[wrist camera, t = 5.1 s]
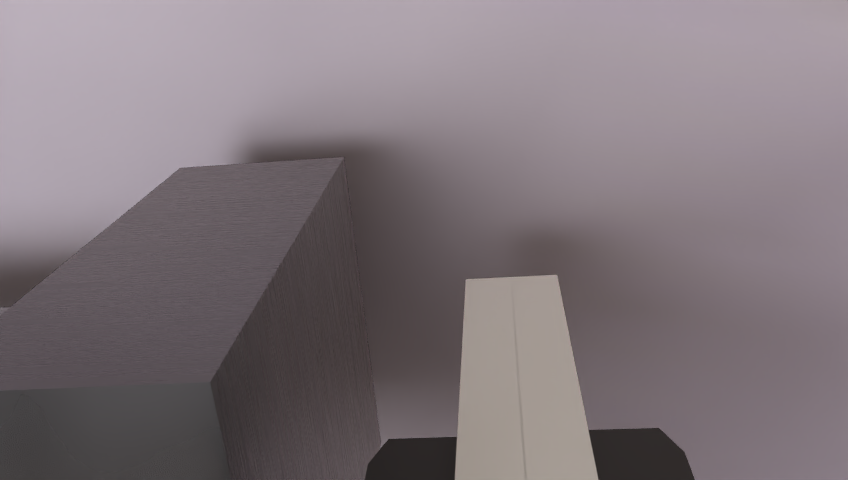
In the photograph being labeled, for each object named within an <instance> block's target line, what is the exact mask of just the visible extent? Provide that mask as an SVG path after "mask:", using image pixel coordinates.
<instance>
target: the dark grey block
mask: <svg viewBox="0 0 848 480" xmlns="http://www.w3.org/2000/svg"><path fill="white" fill-rule="evenodd" d="M380 444H381V438H380V431H379V423H378V415H377V407H376V400H375V392H374V384H373V376H372V369H371V361H370V353H369V345H368V338H367V330H366V322H365V314H364V307H363V299H362V291H361V284H360V276H359V268H358V260H357V253H356V245H355V237H354V229H353V222H352V214H351V206H350V198H349V191H348V183H347V175H346V168H345V160H344V157H334V158H319V159H305V160H290V161H275V162H261V163H246V164H231V165H217V166H202V167H187V168H180V169H178V170H177V171H176V172H175V173H173V174H172V175H171V176H170V177H169V178H167V179H166V180H165V181H164V182H162V183H161V184H160V185H159V186H158V187H156V188H155V189H154V190H153V191H151V192H150V193H149V194H148V195H147V196H145V197H144V198H143V199H142V200H140V201H139V202H138V203H137V204H136V205H134V206H133V207H132V208H131V209H129V210H128V211H127V212H126V213H125V214H123V215H122V216H121V217H120V218H118V219H117V220H116V221H115V222H114V223H112V224H111V225H110V226H109V227H107V228H106V229H105V230H104V231H103V232H101V233H100V234H99V235H98V236H96V237H95V238H94V239H93V240H92V241H90V242H89V243H88V244H87V245H85V246H84V247H83V248H82V249H81V250H79V251H78V252H77V253H76V254H74V255H73V256H72V257H71V258H70V259H68V260H67V261H66V262H65V263H63V264H62V265H61V266H60V267H59V268H57V269H56V270H55V271H54V272H52V273H51V274H50V275H49V276H48V277H46V278H45V279H44V280H43V281H41V282H40V283H39V284H38V285H37V286H35V287H34V288H33V289H32V290H30V291H29V292H28V293H27V294H26V295H24V296H23V297H22V298H21V299H19V300H18V301H17V302H16V303H15V304H13V305H12V306H11V307H1V308H0V480H365V476H366V471H367V466H368V463H369V462H370V461H371V460H372V458H373V457H374V456H375V455H376V454H377V452H378V451H379V449H380Z"/></svg>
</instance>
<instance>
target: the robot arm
mask: <svg viewBox="0 0 848 480" xmlns="http://www.w3.org/2000/svg"><path fill="white" fill-rule="evenodd" d="M365 480H695V479H694V476H693V474H692V471H691V468H690V466H689V463H688V460H687V458H686V455H685V452H684V451H683V450H682V449H681V448H679V447H678V446H677V445H676V444H675V443H674V442H673V441H672V440H671V439H670V438H669V437H668V436H667V435H666V434H665V433H663V432H662V431H661V430H660V429H659V428H646V429H613V430H588V425H587V420H586V416H585V411H584V406H583V401H582V396H581V391H580V386H579V381H578V376H577V371H576V366H575V361H574V356H573V351H572V346H571V341H570V336H569V331H568V326H567V321H566V316H565V311H564V306H563V301H562V296H561V291H560V286H559V281H558V276H557V275H542V276H521V277H501V278H481V279H466V284H465V302H464V320H463V338H462V357H461V375H460V393H459V411H458V430H457V437H441V438H408V439H388V441H387V442H386V443H385V444H384V445H383V446H382V448H381V449H380V450H379V451H378V452H377V454H376V455H375V456H374V457H373V458H372V460H371V461H370V462H369V463H368V466H367V471H366V476H365Z"/></svg>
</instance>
